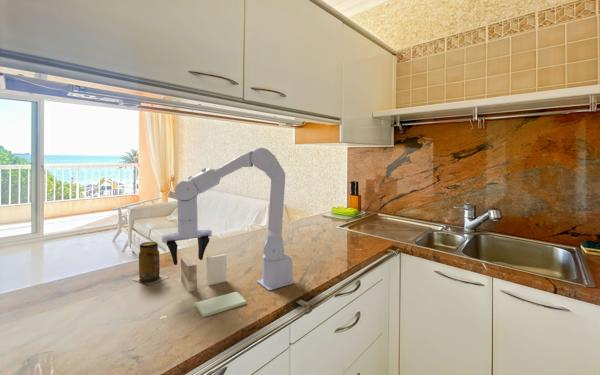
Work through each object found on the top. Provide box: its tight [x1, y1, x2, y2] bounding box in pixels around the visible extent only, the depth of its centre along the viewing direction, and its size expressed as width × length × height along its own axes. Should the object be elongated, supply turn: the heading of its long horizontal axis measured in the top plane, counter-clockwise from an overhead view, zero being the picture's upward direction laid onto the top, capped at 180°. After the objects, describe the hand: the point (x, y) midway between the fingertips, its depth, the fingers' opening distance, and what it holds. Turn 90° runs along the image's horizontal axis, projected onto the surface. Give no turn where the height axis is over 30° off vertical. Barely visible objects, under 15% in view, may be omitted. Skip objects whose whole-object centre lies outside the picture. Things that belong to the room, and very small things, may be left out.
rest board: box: [194, 291, 248, 318], centre depth 77 cm, size 12×7×1 cm, turn 126°
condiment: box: [132, 241, 169, 286], centre depth 92 cm, size 7×8×12 cm
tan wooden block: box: [180, 256, 198, 293], centre depth 88 cm, size 2×9×8 cm, turn 37°
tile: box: [206, 253, 227, 286], centre depth 91 cm, size 6×1×9 cm, turn 126°
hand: (188, 261), depth 88 cm, fingers open, 7 cm apart
